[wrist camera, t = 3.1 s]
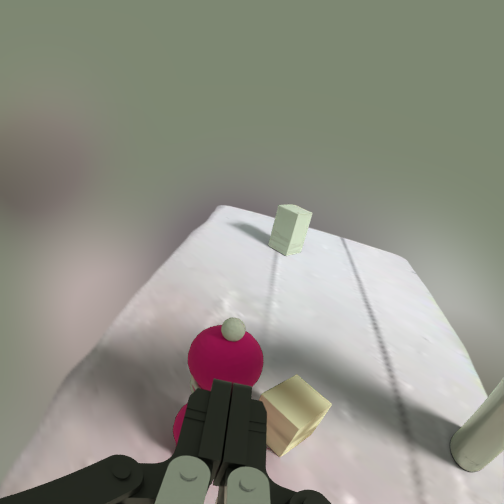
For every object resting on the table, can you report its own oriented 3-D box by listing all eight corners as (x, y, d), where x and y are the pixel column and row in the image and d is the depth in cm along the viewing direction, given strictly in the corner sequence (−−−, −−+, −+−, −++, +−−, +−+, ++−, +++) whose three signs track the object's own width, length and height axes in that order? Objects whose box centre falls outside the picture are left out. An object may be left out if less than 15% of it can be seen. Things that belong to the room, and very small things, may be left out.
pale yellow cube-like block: (278, 404, 39) (294, 371, 36) (311, 434, 35) (332, 404, 32) (245, 423, 35) (258, 391, 32) (279, 457, 31) (299, 429, 28)
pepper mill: (163, 430, 31) (173, 294, 23) (219, 419, 34) (256, 289, 26) (184, 481, 25) (206, 363, 17) (244, 465, 29) (303, 344, 21)
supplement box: (301, 253, 91) (313, 213, 86) (285, 256, 86) (298, 214, 81) (283, 242, 95) (294, 203, 90) (266, 245, 90) (277, 204, 85)
